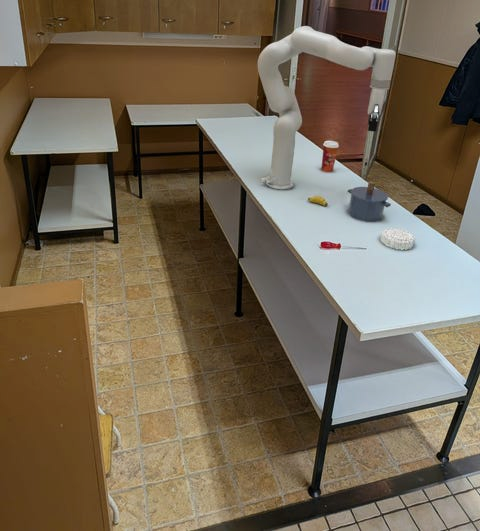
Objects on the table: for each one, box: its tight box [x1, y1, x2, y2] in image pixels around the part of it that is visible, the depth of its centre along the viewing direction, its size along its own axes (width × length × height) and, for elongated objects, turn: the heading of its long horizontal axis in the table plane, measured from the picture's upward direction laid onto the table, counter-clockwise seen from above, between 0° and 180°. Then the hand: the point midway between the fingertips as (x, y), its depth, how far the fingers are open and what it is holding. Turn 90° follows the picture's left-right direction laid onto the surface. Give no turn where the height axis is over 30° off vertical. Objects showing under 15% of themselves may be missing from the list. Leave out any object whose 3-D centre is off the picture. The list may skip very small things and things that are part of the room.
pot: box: [347, 188, 392, 222], centre depth 203 cm, size 14×19×8 cm
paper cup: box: [321, 140, 340, 173], centre depth 245 cm, size 8×8×14 cm
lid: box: [350, 180, 389, 202], centre depth 200 cm, size 15×15×6 cm
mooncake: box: [379, 227, 416, 251], centre depth 184 cm, size 12×12×4 cm
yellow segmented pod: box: [307, 195, 329, 207], centre depth 211 cm, size 9×3×3 cm, turn 60°
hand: (371, 127), depth 202 cm, fingers open, 9 cm apart
